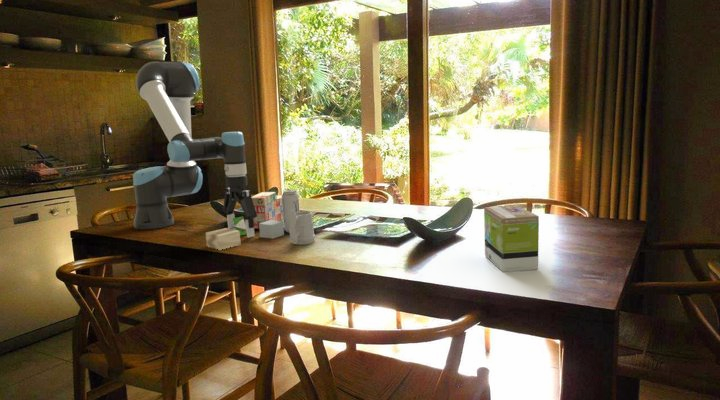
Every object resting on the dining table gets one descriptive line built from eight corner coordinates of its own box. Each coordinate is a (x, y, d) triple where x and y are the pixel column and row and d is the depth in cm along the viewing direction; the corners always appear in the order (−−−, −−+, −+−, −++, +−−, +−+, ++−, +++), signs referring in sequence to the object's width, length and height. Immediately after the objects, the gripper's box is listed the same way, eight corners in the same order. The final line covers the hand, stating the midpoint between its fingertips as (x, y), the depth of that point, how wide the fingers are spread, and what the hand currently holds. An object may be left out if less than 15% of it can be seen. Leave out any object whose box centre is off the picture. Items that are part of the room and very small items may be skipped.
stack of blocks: (272, 217, 217) (270, 188, 215) (286, 217, 216) (284, 188, 214) (251, 229, 197) (248, 197, 195) (266, 229, 196) (264, 197, 193)
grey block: (260, 237, 183) (259, 223, 182) (271, 233, 188) (270, 220, 187) (273, 239, 180) (272, 225, 179) (284, 235, 185) (283, 221, 184)
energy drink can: (296, 233, 187) (293, 192, 184) (281, 232, 188) (278, 191, 186) (303, 229, 192) (301, 189, 189) (289, 228, 194) (286, 189, 191)
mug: (319, 239, 176) (317, 205, 174) (302, 248, 165) (299, 212, 163) (300, 238, 179) (297, 204, 177) (281, 247, 168) (279, 211, 166)
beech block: (206, 247, 173) (205, 232, 173) (227, 242, 179) (226, 228, 178) (220, 250, 168) (218, 235, 167) (240, 245, 174) (239, 230, 173)
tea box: (483, 256, 148) (483, 206, 146) (517, 254, 149) (517, 204, 147) (501, 273, 134) (502, 217, 131) (539, 270, 134) (540, 214, 132)
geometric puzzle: (225, 228, 189) (230, 213, 185) (241, 225, 194) (246, 209, 189) (234, 242, 186) (239, 227, 181) (250, 238, 190) (256, 223, 186)
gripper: (210, 174, 191) (215, 231, 194) (245, 179, 173) (250, 241, 177) (228, 172, 196) (233, 227, 199) (264, 176, 178) (268, 236, 182)
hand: (241, 234), depth 188 cm, fingers open, 12 cm apart
